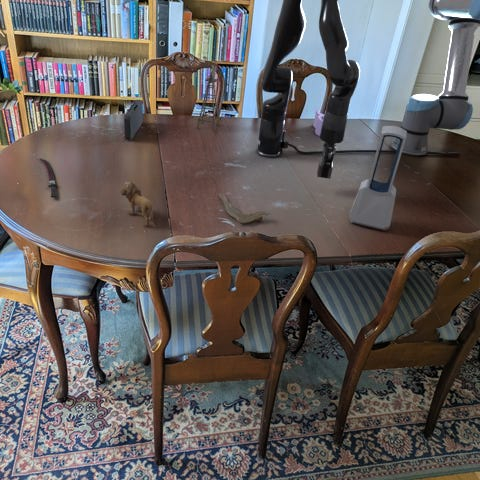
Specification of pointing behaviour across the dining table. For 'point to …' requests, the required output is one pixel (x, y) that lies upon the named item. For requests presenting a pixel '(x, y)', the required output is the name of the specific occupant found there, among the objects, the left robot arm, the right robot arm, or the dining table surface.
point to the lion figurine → (137, 201)
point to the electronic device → (378, 189)
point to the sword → (52, 181)
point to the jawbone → (239, 215)
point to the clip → (318, 122)
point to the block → (321, 170)
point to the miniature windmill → (210, 80)
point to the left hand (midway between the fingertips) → (323, 174)
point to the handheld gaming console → (133, 119)
